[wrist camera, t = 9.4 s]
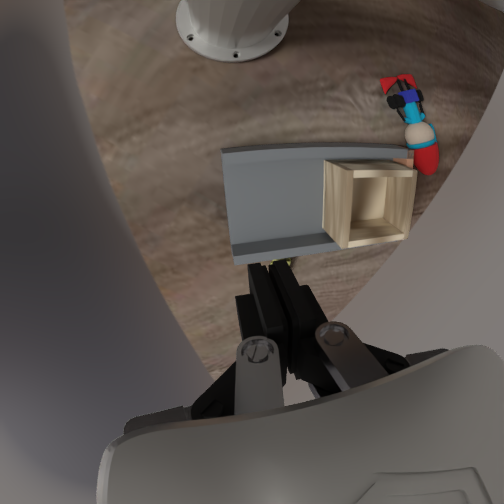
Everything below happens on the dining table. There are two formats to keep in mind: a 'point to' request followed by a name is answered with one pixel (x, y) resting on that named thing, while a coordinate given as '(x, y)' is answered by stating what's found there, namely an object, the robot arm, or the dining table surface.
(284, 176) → the rail bay
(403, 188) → the crate
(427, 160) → the toy figure
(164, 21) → the dining table surface
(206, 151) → the dining table surface
